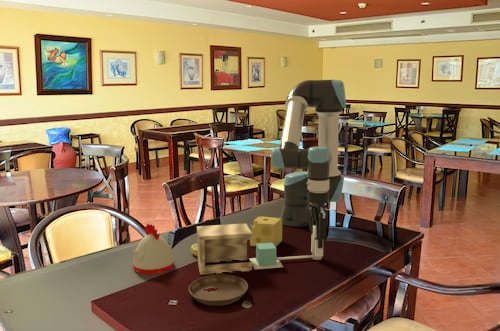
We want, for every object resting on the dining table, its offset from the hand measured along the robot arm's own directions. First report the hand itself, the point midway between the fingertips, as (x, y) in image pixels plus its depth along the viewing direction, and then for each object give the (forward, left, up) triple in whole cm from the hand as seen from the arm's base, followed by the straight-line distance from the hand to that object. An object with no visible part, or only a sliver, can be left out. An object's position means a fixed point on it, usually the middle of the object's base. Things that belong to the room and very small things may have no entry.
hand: (317, 253), depth 164 cm
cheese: (+14, -20, -2) cm, 25 cm away
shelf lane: (+34, 0, -2) cm, 34 cm away
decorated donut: (+39, -14, -2) cm, 42 cm away
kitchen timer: (+58, -5, -2) cm, 58 cm away
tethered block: (+10, 0, -2) cm, 10 cm away
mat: (+19, 0, -2) cm, 19 cm away
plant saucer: (+39, +22, -3) cm, 44 cm away
